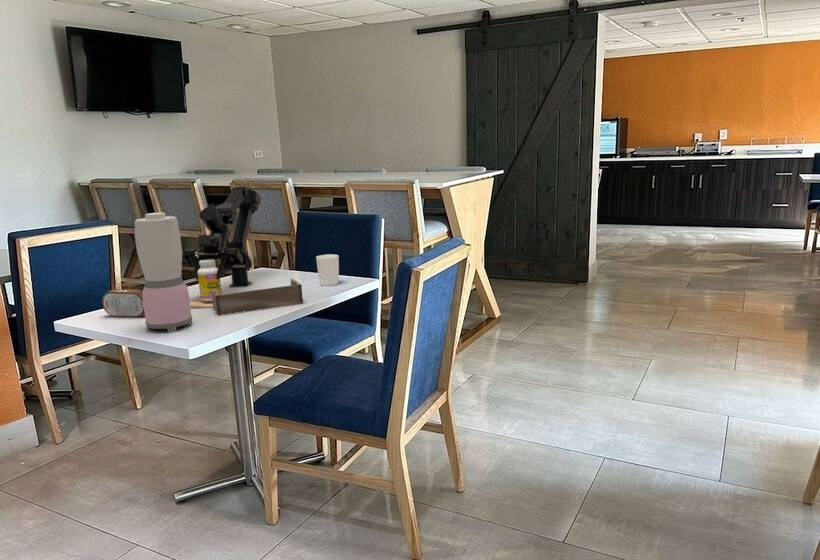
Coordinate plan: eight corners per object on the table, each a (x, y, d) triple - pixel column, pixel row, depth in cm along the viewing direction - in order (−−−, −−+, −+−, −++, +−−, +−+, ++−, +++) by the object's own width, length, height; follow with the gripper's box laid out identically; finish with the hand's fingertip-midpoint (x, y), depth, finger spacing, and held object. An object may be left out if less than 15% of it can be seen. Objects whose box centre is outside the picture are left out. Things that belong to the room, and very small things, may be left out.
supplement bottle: (207, 302, 197) (202, 263, 194) (197, 300, 201) (191, 261, 199) (226, 298, 201) (221, 259, 199) (216, 296, 206) (210, 257, 203)
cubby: (213, 307, 195) (211, 289, 193) (294, 296, 205) (293, 278, 203) (217, 315, 185) (215, 296, 184) (303, 303, 195) (301, 284, 194)
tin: (152, 315, 189) (149, 288, 187) (146, 318, 186) (142, 291, 184) (109, 314, 192) (105, 288, 190) (102, 317, 189) (98, 290, 187)
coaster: (198, 297, 209) (198, 296, 209) (239, 296, 208) (239, 295, 208) (181, 308, 195) (181, 307, 195) (225, 307, 194) (225, 306, 194)
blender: (202, 323, 177) (189, 211, 171) (166, 335, 167) (151, 216, 160) (165, 317, 185) (151, 210, 178) (129, 328, 175) (113, 215, 168)
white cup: (335, 286, 217) (333, 258, 215) (314, 286, 219) (312, 258, 217) (343, 281, 224) (341, 254, 222) (323, 281, 226) (321, 254, 224)
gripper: (180, 225, 201) (168, 265, 193) (235, 223, 199) (225, 264, 191) (194, 245, 211) (183, 284, 202) (247, 243, 208) (238, 283, 200)
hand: (207, 279), depth 199 cm, fingers closed on supplement bottle, 6 cm apart
